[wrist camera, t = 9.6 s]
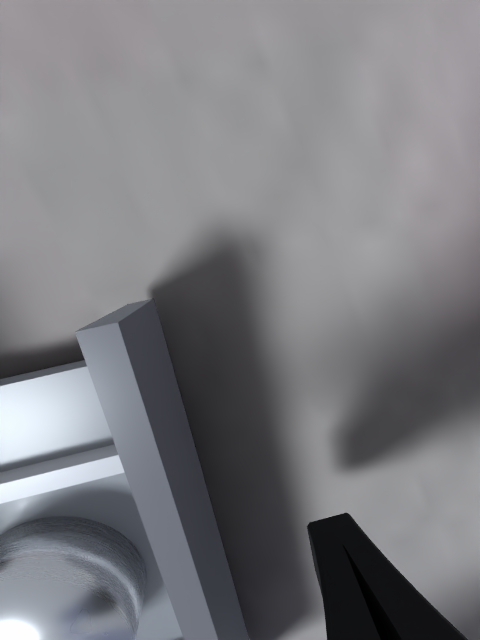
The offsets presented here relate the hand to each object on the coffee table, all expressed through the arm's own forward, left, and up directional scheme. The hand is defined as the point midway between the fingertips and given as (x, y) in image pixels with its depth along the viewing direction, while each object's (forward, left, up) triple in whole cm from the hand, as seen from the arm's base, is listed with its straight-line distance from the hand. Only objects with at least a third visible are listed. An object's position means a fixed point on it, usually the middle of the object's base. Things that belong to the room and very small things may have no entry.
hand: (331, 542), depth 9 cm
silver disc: (+9, 0, -1) cm, 9 cm away
